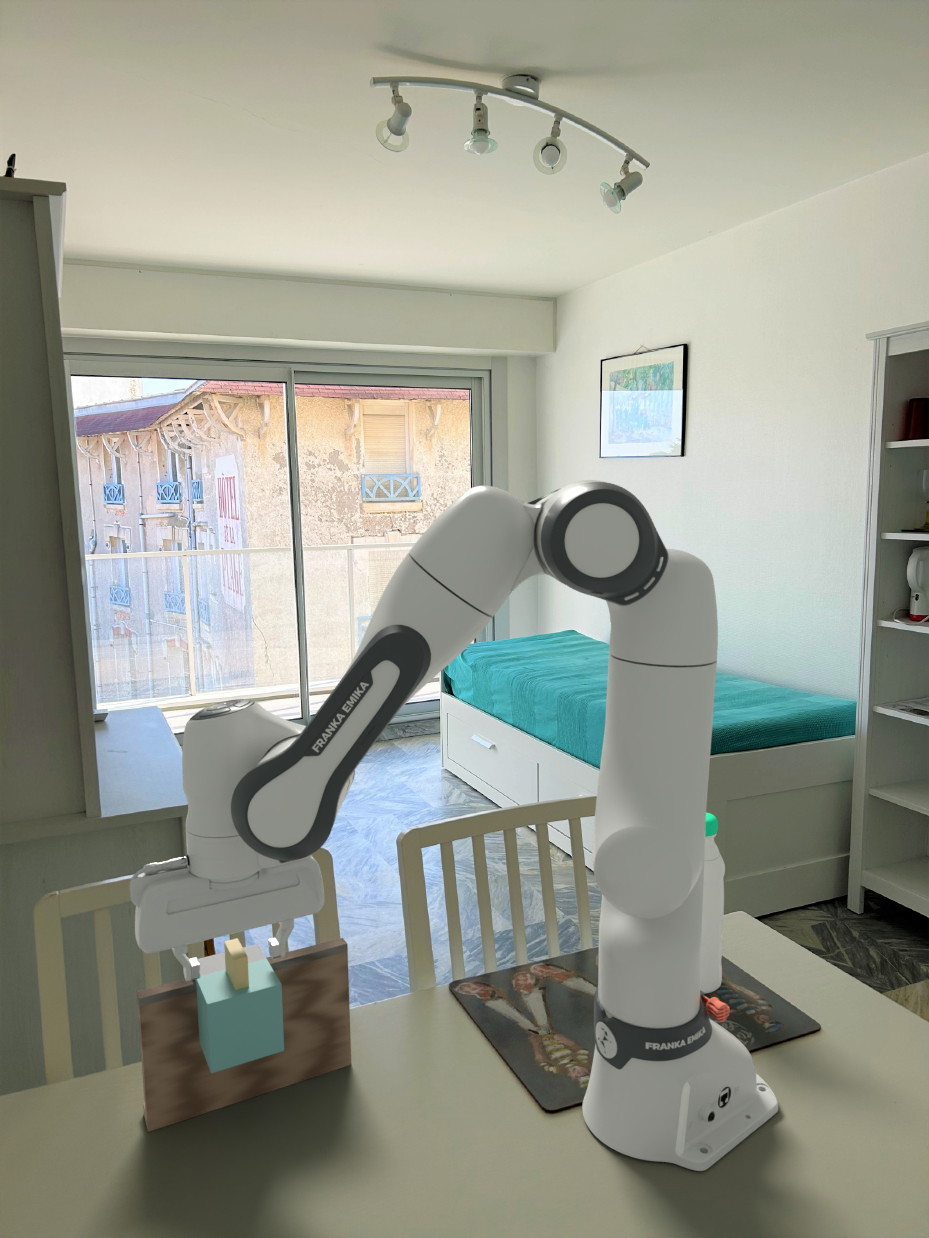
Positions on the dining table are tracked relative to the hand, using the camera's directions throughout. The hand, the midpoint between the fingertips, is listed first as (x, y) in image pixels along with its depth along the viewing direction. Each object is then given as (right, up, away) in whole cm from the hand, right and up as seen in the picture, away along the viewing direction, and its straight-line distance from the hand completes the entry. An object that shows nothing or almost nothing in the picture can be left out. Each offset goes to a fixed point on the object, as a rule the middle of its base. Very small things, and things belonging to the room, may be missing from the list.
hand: (235, 966), depth 98 cm
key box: (0, -9, +2) cm, 9 cm away
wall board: (0, -17, +6) cm, 18 cm away
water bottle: (+59, -14, +28) cm, 67 cm away
